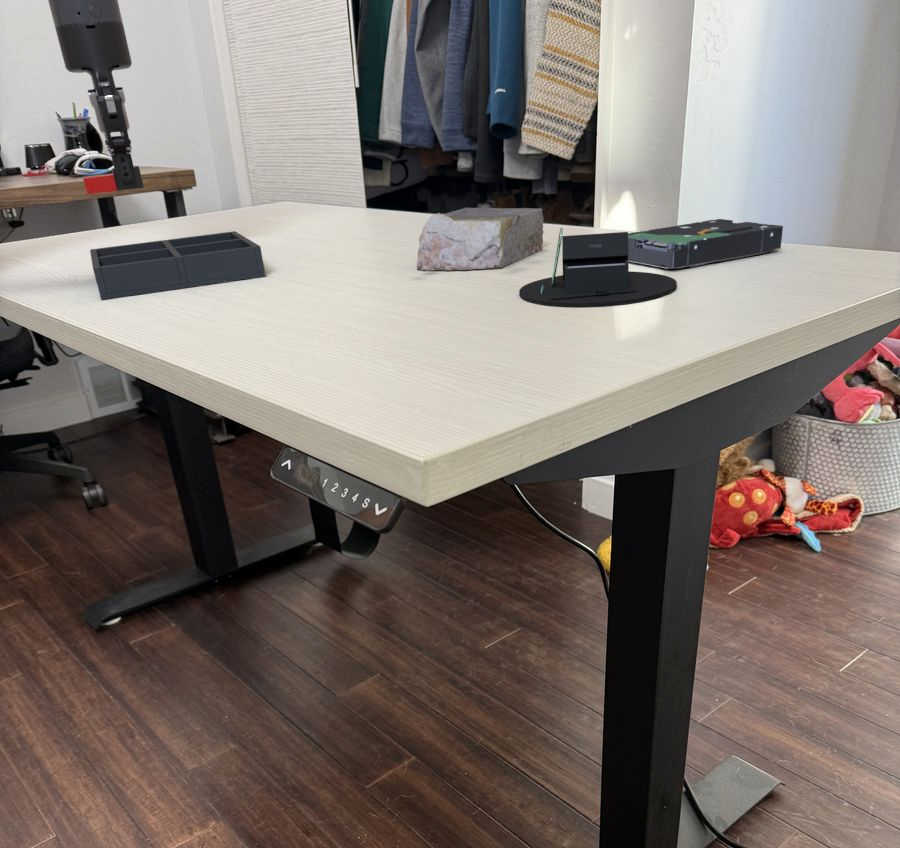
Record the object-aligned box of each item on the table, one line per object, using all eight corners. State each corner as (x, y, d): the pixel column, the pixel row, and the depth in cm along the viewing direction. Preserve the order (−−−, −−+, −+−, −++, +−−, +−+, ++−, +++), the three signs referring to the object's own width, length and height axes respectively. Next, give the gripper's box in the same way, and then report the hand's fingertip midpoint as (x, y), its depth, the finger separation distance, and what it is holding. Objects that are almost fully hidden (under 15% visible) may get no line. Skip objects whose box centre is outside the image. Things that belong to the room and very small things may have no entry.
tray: (101, 300, 100) (92, 268, 98) (97, 277, 116) (89, 249, 114) (265, 276, 106) (260, 246, 104) (240, 257, 121) (235, 231, 120)
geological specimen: (546, 205, 105) (496, 215, 93) (545, 258, 108) (496, 275, 96) (467, 205, 109) (410, 215, 98) (468, 256, 112) (413, 272, 101)
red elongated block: (87, 194, 105) (81, 172, 104) (86, 192, 108) (81, 171, 107) (144, 188, 107) (139, 166, 106) (142, 186, 110) (137, 165, 109)
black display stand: (668, 270, 89) (671, 213, 86) (684, 301, 76) (688, 234, 73) (523, 279, 91) (521, 223, 88) (514, 310, 78) (512, 246, 75)
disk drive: (716, 244, 101) (612, 260, 96) (718, 218, 100) (613, 233, 95) (782, 252, 93) (673, 271, 88) (785, 224, 92) (675, 242, 86)
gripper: (55, 30, 104) (96, 187, 113) (52, 17, 93) (98, 193, 101) (119, 26, 106) (155, 181, 115) (124, 13, 95) (163, 186, 103)
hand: (128, 186), depth 108 cm, fingers closed on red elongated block, 2 cm apart
